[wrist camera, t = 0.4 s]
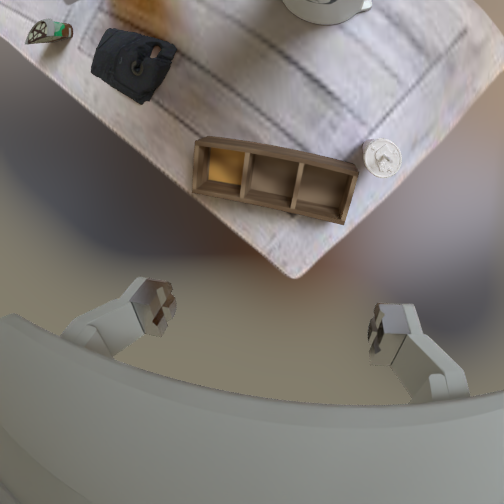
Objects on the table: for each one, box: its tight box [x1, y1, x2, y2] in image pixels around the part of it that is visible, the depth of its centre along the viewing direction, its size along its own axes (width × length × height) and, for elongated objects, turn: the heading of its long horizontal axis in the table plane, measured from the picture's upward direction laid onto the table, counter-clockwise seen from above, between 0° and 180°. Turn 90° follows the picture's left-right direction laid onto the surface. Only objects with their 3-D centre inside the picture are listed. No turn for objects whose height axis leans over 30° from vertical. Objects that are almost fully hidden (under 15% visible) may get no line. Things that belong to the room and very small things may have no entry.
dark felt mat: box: [91, 28, 177, 105], centre depth 42 cm, size 15×22×5 cm
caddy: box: [192, 136, 359, 225], centre depth 49 cm, size 10×29×6 cm, turn 83°
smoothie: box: [362, 138, 402, 178], centre depth 39 cm, size 6×6×14 cm
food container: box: [25, 19, 73, 44], centre depth 35 cm, size 12×6×10 cm, turn 78°
